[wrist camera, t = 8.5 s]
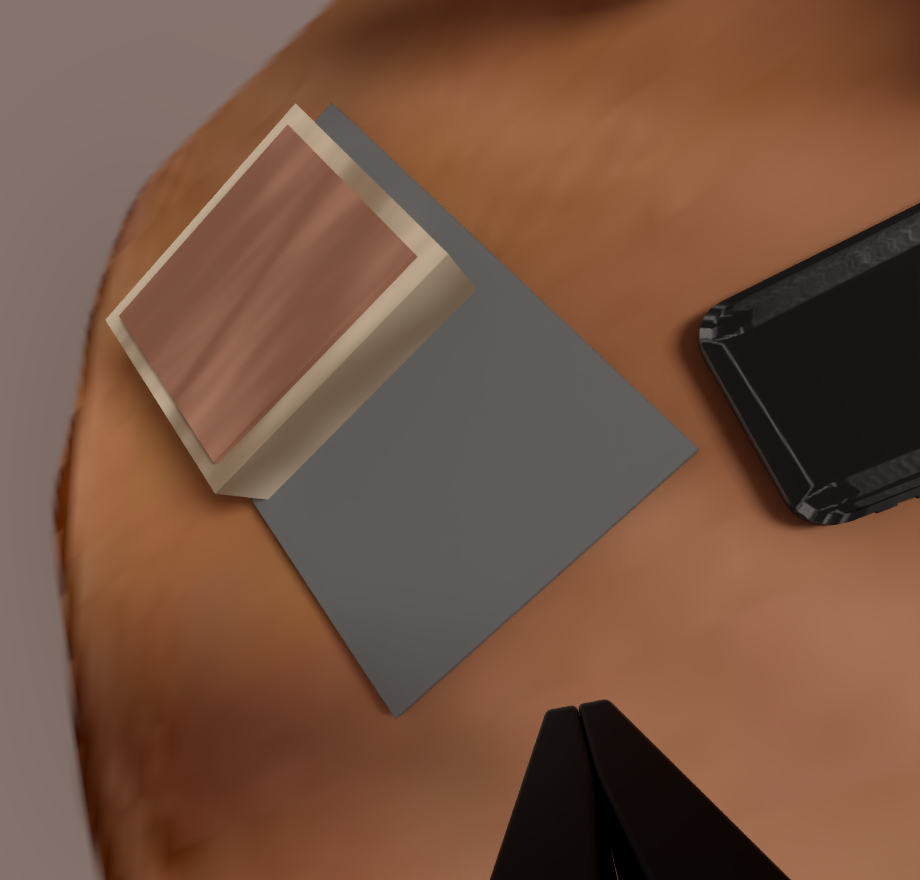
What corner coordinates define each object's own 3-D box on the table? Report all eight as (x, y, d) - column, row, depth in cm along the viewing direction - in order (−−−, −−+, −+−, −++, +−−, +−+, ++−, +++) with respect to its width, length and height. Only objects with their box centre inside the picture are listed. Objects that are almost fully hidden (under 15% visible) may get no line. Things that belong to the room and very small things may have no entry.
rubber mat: (698, 451, 19) (698, 448, 19) (402, 714, 21) (394, 718, 21) (338, 111, 27) (331, 102, 27) (145, 327, 29) (135, 323, 29)
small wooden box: (444, 249, 20) (290, 97, 23) (208, 493, 21) (99, 317, 25) (476, 289, 23) (336, 150, 26) (267, 499, 24) (162, 342, 28)
